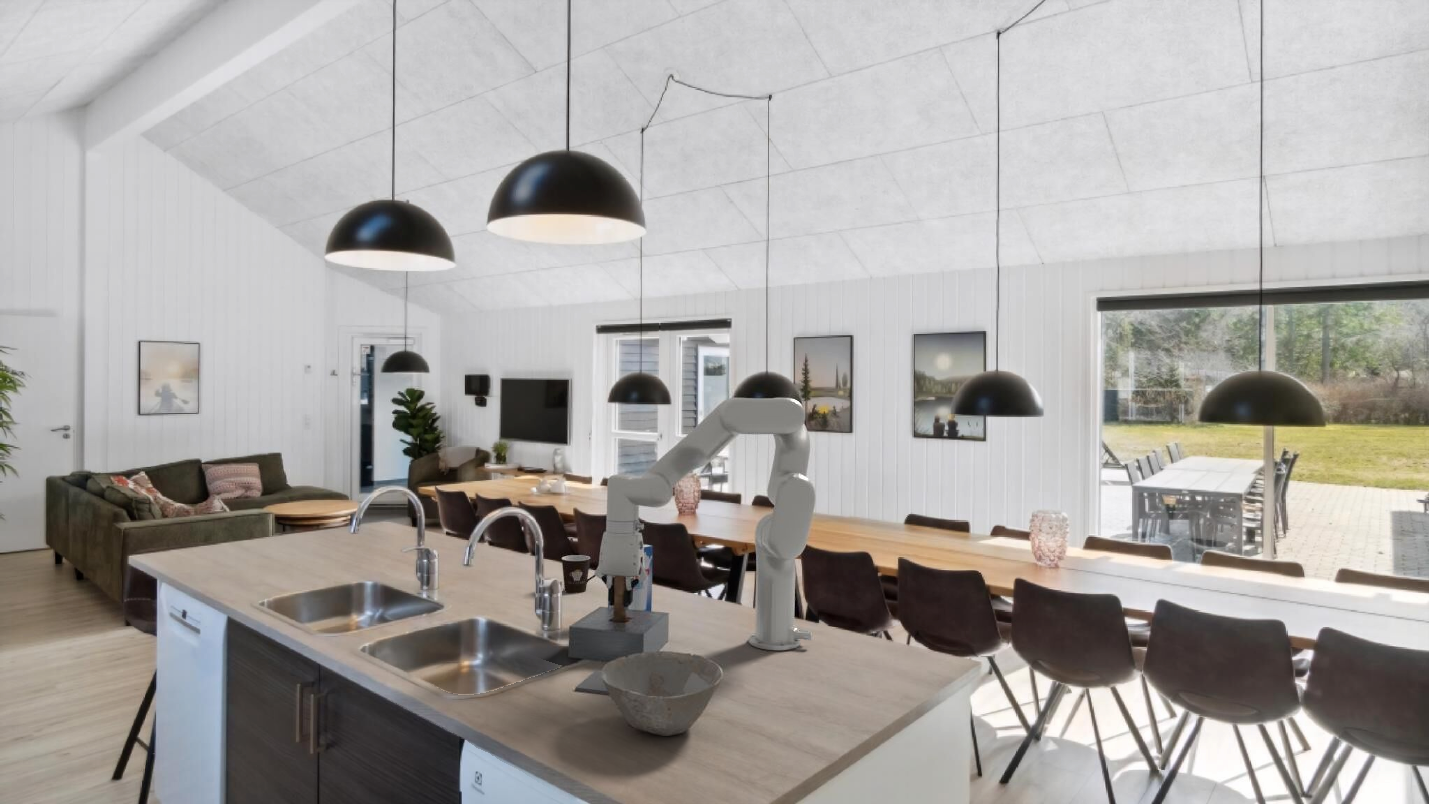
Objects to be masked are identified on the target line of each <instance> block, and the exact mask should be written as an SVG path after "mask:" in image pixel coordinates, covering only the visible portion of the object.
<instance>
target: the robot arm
mask: <svg viewBox="0 0 1429 804" xmlns="http://www.w3.org/2000/svg"><path fill="white" fill-rule="evenodd" d="M805 421H806V412H805V408H804V405H802V403H800V402H799V401H798V400H796V399H794V398H791V397H773V398H772V397H771V398H769V397H768V398H766V397H765V398H763V397H762V398H756V397H755V398H753V397H749V398H748V397H730V398H729V397H728V398H726V399H724V400H723V401H722V402H721V403H720V404H718V405H717V406H716V407H715V408H714V409H713V410H711V412H710V413H709V414H708V415H707V416H706V417H704V419H703V420H702V421H700V422H699V423H698V424H697V425H696V426H695V427H693V429H692V430H691V431H690V432H689V433H688V434H687V435H686V436H684V437H683V438H682V439H681V440H680V441H678V442H677V443H676V445H675V446H673V447H672V448H671V449H670V450H668V451H667V452H666V453H665V454H664V455H663V456H662V457H660V458H659V460H658V461H656V462H655V463H654V464H652V466H651V467H650V468H649V469H648V470H647V471H645V472H644V474H643V475H642V476H640V477H638V476H636V475H633V474H627V473H626V474H613V475H610V476H609V477H608V478H607V485H606V489H607V490H606V522H605V523H606V524H605V525H606V527H605V529H606V530H605V531H604V532H603V534H602V539H601V543H600V549H599V550H600V551H599V558H598V560H599V561H598V562H599V564H598V565H597V568H596V569H595V571H594V574H593V575H595V577H597V578H598V579H600V580H601V581H602V582H603V583H604V585H605V586H606V588H607V602H608V601H609V605H610V606H612V605H614V576H622V577H626V590H624V607H628V606H629V605H631V603H632V602H633V588H634V587H635V586H636V585H637V584H638V583H640V582H642V581H644V580H646V579H647V578H648V575H647V573H646V571H645V569H644V568H645V560H644V546H643V544H644V541H643V540H644V538H643V535H642V534H643V533H642V532H639V531H641V530H644V529H645V525H644V524H645V523H641V522H640V519H639V517H640V515H639V513H640V510H639V508H640V506H641V507H649V508H662V507H664V506H666V505H668V504H669V503H670V501H671V500H672V498H673V495H674V489H673V488H674V487H675V486H676V485H677V484H678V483H679V482H681V481H682V479H684V478H685V477H686V476H687V475H689V474H690V473H691V472H693V471H695V470H697V469H699V468H702V467H704V466H705V465H707V464H709V463H711V462H712V461H713V460H715V458H716V457H717V456H719V454H720V453H721V452H722V451H723V450H724V449H725V448H726V447H727V446H728V445H729V444H731V443H732V442H733V440H735V439H736V438H737V437H738V436H739V435H773V438H774V439H773V440H774V445H775V448H774V455H773V456H774V457H773V462H772V467H771V471H770V476H769V480H768V485H767V489H766V492H767V498H768V500H769V502H771V504H772V505H774V506H773V511H772V513H767V514H766V515H764V516H762V517H761V519H760V520H759V521H758V522H757V524H756V527H755V531H754V543H755V554H756V555H755V556H756V557H755V558H756V559H755V560H756V570H755V571H756V575H755V576H756V577H755V614H754V615H755V617H754V618H755V619H754V620H755V621H754V622H755V623H754V632H753V633H751V634H750V635H748V644H750V645H751V646H753V647H755V648H757V649H761V650H766V651H767V650H768V651H789V650H793V649H796V648H798V647H799V646H800V645H801V640H805V641H812V640H813V632H811V631H809V629H800V628H799V627H798V623H797V622H795V608H796V607H795V601H796V596H795V594H796V591H795V590H796V558H798V557H799V556H800V555H802V553H803V552H804V550H805V549H806V545H807V543H808V539H809V536H810V531H811V526H812V520H813V515H814V513H815V505H816V490H815V487H814V484H813V483H812V482H811V480H810V479H809V478H808V477H807V474H808V473H807V472H808V467H809V461H810V453H811V439H810V434H809V431H808V429H807V426H806V425H805ZM638 574H640V576H639V577H638V578H636V579H635V577H636V576H638Z"/></svg>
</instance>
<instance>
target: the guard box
mask: <svg viewBox="0 0 1429 804" xmlns="http://www.w3.org/2000/svg"><path fill="white" fill-rule="evenodd" d="M613 612H614V608H610V607H608V606H599V607H598V608H596V609H594V610H593V611H591V612H589V613H588V614H587V615H585V616H584V617H581V618H580V619H579V620H577V621H576V622H574V623H572V624H571V625H568V658H573V659H582V660H589V661H601V662H607V663H609V662H610V661H613V660H615V659H617V658H620V657H624V656H625V657H628V655H632V654H636V653H639V654H641V653H643V652H650V653H652V652H653V651H654V652H657V651H661V649H662V648H663V647H664V646H666V644H667V643H669V629H670V628H669V626H670V625H669V623H670V621H669V619H670V613H669V612H665V611H664V612H662V611H652V610H651V611H642V610H631V609H626V622H627V623H621V622H613Z"/></svg>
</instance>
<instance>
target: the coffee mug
mask: <svg viewBox="0 0 1429 804" xmlns="http://www.w3.org/2000/svg"><path fill="white" fill-rule="evenodd" d="M590 561H591V557H590V556H588V555H584V554H583V555H582V554H579V555H576V554H575V555H573V554H571V555H566V556H562V557H561V564H562V576H563V586H564V592H565V591H566V592H565V593H568V594H582V593H585V592H586V591H587V585H588V582H589V581H591V580H592V579H594V578H595V577H596V576H595V574H593V575H592V576H590V577H589V570H590V568H591V567H592V565H594V564H598V565H599V561H598V560H594V561H592V562H590Z"/></svg>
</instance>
